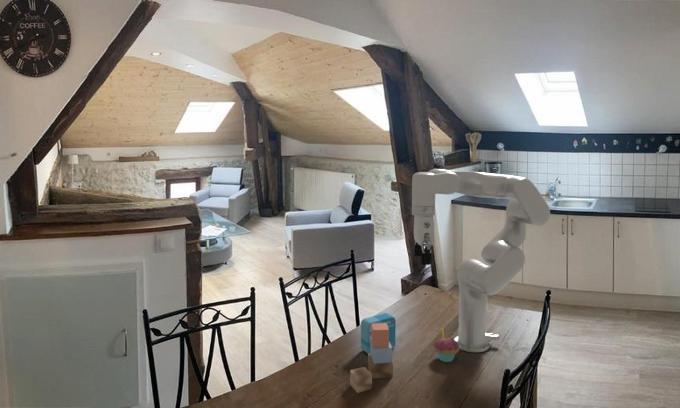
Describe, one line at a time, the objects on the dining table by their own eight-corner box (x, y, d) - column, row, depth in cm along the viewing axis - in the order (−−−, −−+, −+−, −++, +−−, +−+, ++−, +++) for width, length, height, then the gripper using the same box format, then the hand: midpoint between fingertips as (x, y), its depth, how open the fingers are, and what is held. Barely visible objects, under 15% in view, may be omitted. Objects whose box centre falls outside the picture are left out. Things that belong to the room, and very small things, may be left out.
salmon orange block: (386, 340, 162) (386, 323, 161) (388, 347, 157) (389, 329, 156) (371, 340, 162) (371, 323, 161) (373, 347, 157) (373, 330, 156)
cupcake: (444, 367, 164) (445, 333, 162) (428, 356, 172) (428, 323, 170) (464, 360, 168) (465, 327, 166) (447, 350, 176) (448, 318, 174)
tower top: (388, 353, 164) (388, 339, 163) (392, 362, 158) (392, 347, 157) (370, 354, 163) (370, 340, 162) (373, 363, 157) (373, 349, 156)
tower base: (389, 366, 165) (389, 352, 164) (392, 377, 158) (392, 363, 158) (368, 367, 165) (368, 353, 164) (370, 378, 158) (370, 364, 157)
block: (364, 381, 156) (364, 366, 155) (372, 389, 152) (371, 374, 151) (350, 385, 154) (350, 370, 153) (357, 393, 150) (357, 377, 149)
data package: (367, 356, 172) (367, 323, 170) (360, 351, 176) (360, 319, 174) (395, 347, 178) (395, 316, 176) (388, 342, 182) (388, 312, 180)
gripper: (441, 215, 155) (440, 267, 158) (428, 205, 172) (427, 252, 175) (418, 215, 154) (417, 268, 157) (406, 205, 171) (406, 253, 174)
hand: (422, 260), depth 166 cm, fingers open, 9 cm apart
